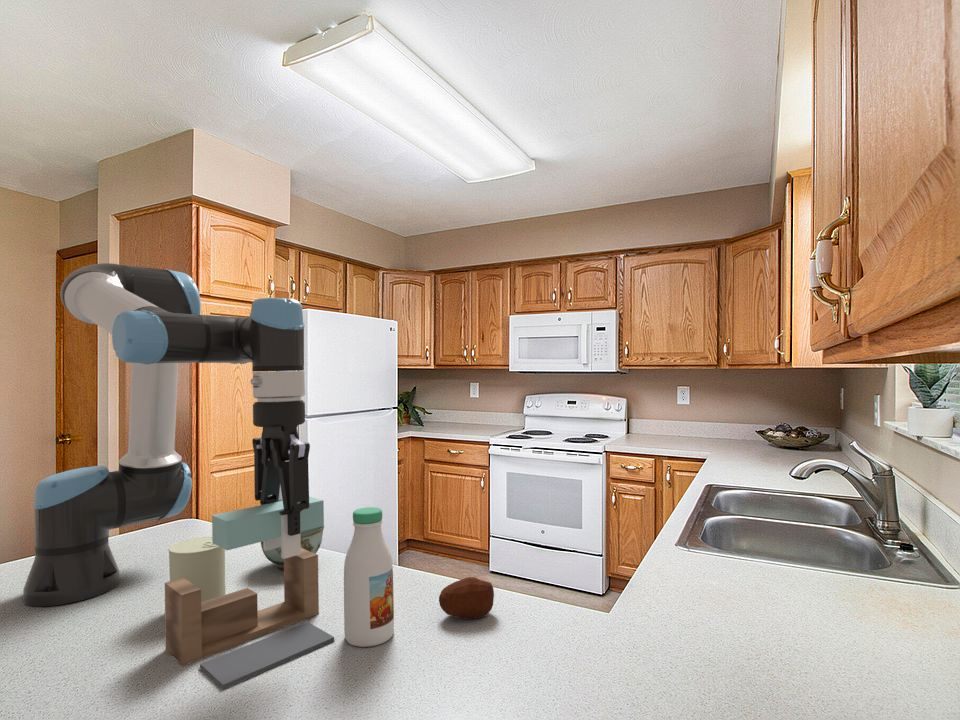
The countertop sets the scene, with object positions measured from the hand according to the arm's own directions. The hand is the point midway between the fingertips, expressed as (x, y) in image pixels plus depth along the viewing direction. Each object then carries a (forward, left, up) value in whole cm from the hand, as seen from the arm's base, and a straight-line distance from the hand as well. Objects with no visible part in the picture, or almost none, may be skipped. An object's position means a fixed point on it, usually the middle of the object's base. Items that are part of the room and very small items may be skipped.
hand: (281, 551), depth 84 cm
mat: (0, -2, -15) cm, 15 cm away
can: (-25, -3, -15) cm, 29 cm away
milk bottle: (+7, +11, -15) cm, 20 cm away
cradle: (-10, 0, -15) cm, 18 cm away
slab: (0, -2, +3) cm, 3 cm away
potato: (+14, +26, -15) cm, 33 cm away
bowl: (-32, +19, -15) cm, 40 cm away
